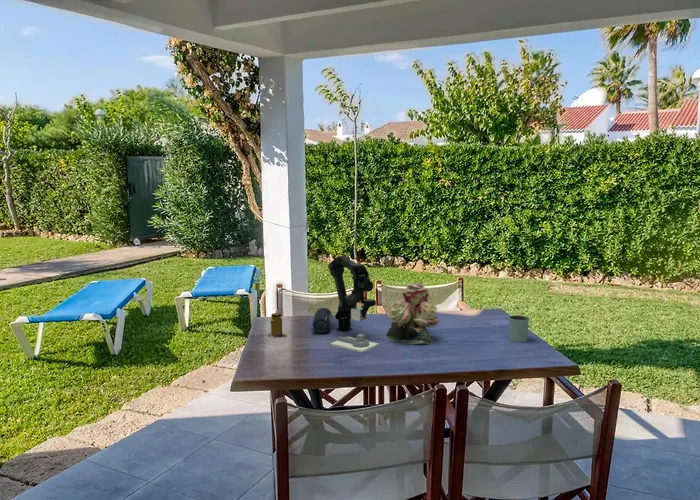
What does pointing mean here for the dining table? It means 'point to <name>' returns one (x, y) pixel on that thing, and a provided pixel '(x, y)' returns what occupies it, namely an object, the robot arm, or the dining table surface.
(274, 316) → the condiment
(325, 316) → the portable speaker
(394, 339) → the rose bouquet
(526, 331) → the green cup
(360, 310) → the brushed grey cube
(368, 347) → the board
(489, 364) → the dining table surface
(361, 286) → the robot arm
